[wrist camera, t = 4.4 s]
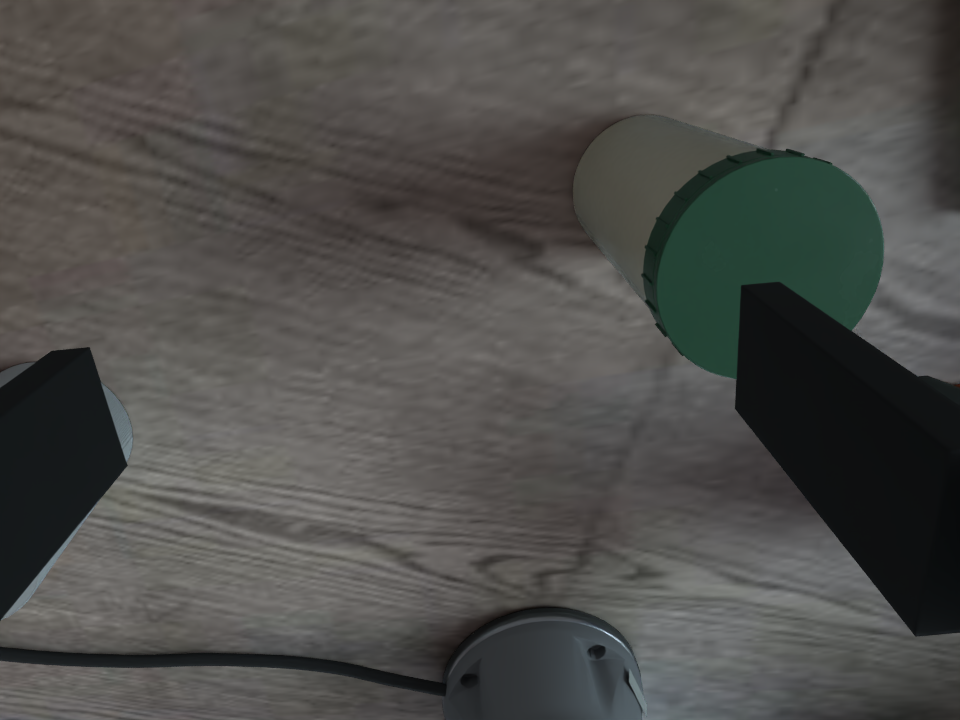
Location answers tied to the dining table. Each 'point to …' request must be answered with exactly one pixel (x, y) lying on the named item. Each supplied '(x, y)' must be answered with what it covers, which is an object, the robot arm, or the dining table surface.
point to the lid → (759, 248)
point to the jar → (640, 182)
